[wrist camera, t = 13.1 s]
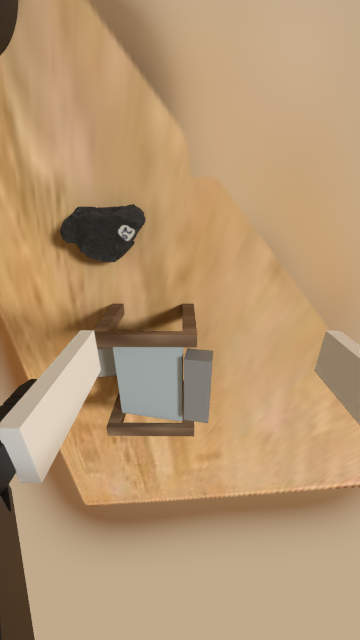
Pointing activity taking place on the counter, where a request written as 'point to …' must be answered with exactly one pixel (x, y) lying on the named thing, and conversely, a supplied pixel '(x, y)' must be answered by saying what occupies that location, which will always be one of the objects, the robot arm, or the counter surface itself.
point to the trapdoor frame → (113, 338)
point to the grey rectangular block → (106, 361)
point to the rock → (103, 230)
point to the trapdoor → (164, 382)
